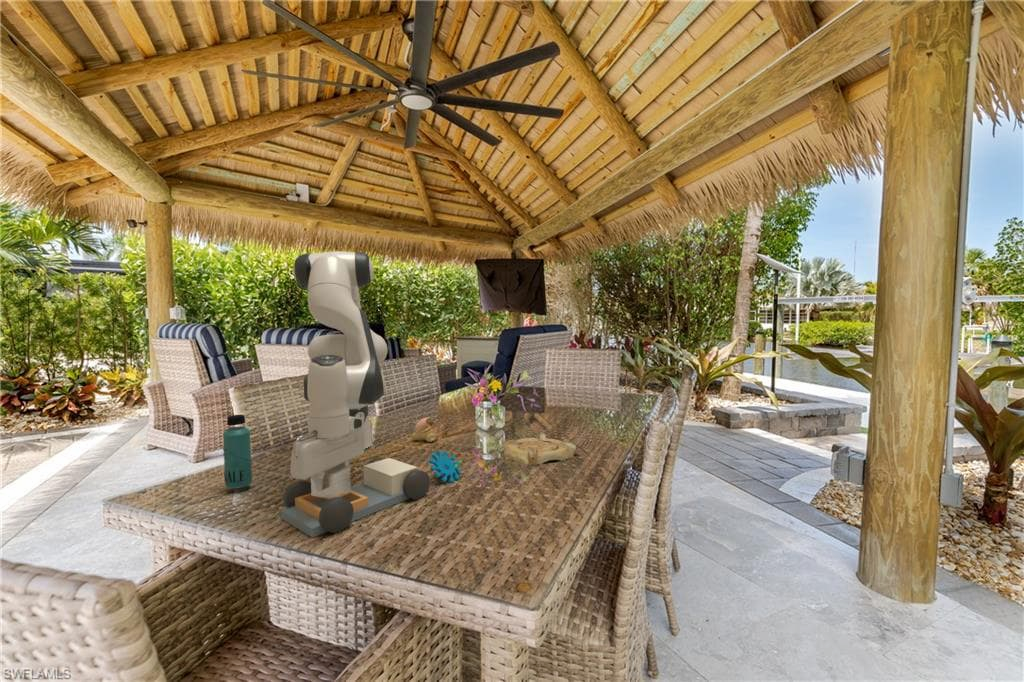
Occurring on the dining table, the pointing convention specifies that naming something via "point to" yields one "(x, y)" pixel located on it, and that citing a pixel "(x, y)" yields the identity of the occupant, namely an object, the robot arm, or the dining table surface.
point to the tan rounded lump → (425, 430)
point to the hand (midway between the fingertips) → (331, 484)
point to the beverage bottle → (237, 454)
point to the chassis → (353, 497)
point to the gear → (445, 466)
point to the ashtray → (538, 450)
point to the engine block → (334, 483)
